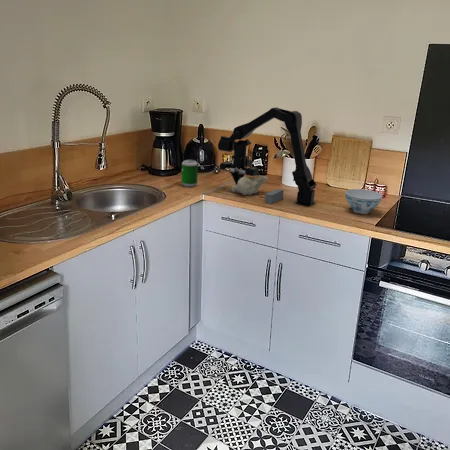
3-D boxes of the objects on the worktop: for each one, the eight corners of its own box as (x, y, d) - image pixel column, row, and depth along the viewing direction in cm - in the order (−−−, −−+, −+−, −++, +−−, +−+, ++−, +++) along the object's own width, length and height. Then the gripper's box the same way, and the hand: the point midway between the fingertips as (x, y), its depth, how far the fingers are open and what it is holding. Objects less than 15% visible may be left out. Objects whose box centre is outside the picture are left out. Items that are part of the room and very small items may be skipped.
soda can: (200, 185, 224) (200, 160, 219) (191, 188, 217) (191, 163, 213) (187, 182, 227) (188, 158, 223) (178, 185, 221) (178, 161, 217)
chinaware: (335, 207, 198) (338, 190, 196) (364, 204, 204) (366, 188, 201) (357, 218, 185) (360, 200, 183) (387, 215, 191) (390, 197, 188)
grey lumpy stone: (230, 200, 208) (255, 184, 200) (224, 186, 210) (249, 170, 203) (249, 204, 220) (273, 188, 213) (243, 190, 223) (267, 175, 215)
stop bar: (282, 198, 207) (283, 190, 206) (270, 204, 199) (271, 195, 198) (277, 197, 209) (277, 188, 208) (264, 202, 200) (265, 193, 199)
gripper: (266, 154, 212) (263, 187, 217) (233, 148, 222) (231, 179, 227) (253, 157, 203) (251, 191, 209) (219, 151, 213) (218, 183, 218)
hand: (237, 186), depth 216 cm, fingers closed
